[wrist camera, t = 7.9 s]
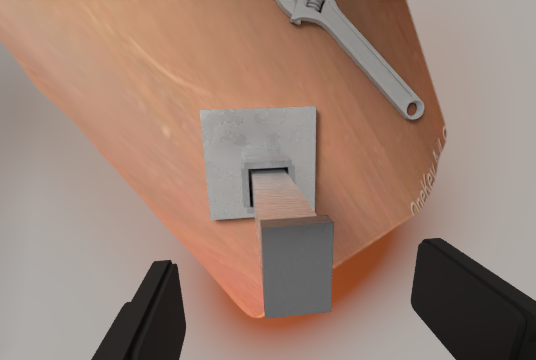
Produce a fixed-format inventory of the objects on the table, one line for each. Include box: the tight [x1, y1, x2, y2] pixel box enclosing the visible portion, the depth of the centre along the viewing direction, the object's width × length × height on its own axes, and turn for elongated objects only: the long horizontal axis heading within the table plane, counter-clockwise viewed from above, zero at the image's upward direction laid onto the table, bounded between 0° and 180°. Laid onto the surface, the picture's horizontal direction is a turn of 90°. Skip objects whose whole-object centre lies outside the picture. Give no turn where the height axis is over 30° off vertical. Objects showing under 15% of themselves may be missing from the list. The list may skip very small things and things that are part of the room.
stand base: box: [200, 106, 316, 220], centre depth 29 cm, size 14×14×12 cm
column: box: [250, 167, 334, 318], centre depth 20 cm, size 4×3×18 cm
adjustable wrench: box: [275, 0, 424, 120], centre depth 32 cm, size 25×6×2 cm, turn 44°
